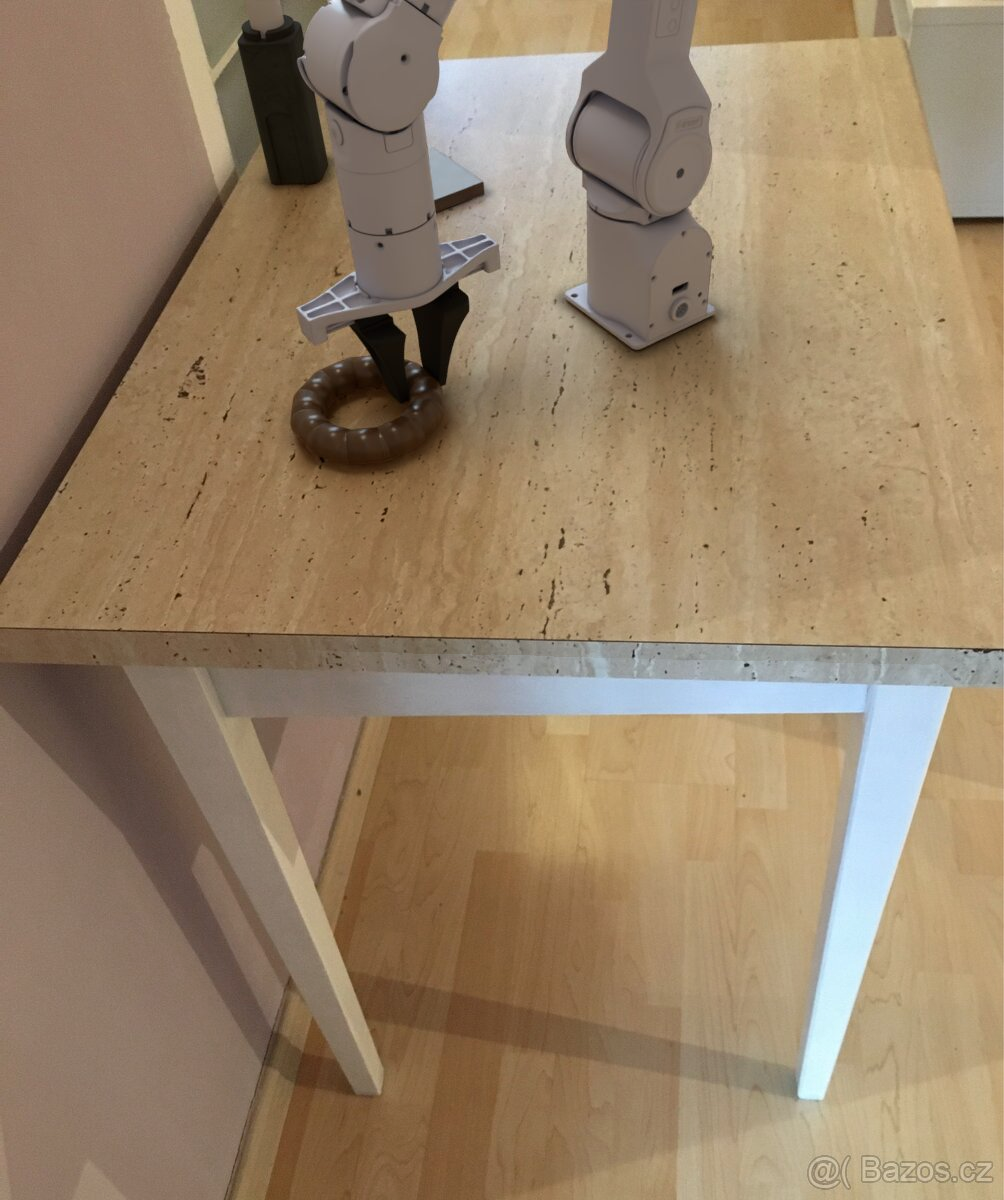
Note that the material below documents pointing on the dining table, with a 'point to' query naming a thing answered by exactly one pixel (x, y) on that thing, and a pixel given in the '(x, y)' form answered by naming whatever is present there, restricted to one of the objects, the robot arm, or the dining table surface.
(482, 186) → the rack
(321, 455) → the segmented ring
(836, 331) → the dining table surface
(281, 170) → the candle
